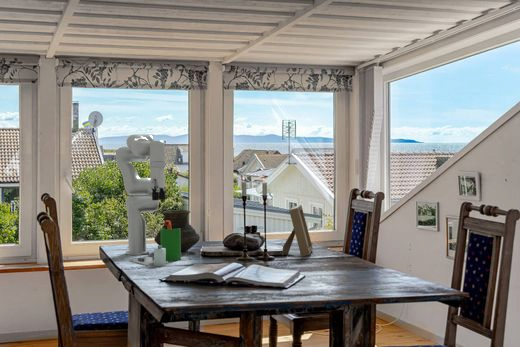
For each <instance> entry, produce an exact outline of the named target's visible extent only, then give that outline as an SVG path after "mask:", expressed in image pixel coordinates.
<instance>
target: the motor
mask: <svg viewBox="0 0 520 347" xmlns="http://www.w3.org/2000/svg"><path fill="white" fill-rule="evenodd" d="M164 224H165V225H167V229H165V228H162V227H161V228H159V231H160V239H161V245H162V248H166V261H168V262H170V261H173V262H174V261H180V260H181V259H182V253H181V229H180V228H179V229H172V227H171V221H165V220H164Z"/></svg>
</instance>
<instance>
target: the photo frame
mask: <svg viewBox="0 0 520 347" xmlns="http://www.w3.org/2000/svg"><path fill="white" fill-rule="evenodd" d="M303 209H304V208H303V206H302V204H300V205H296V206H293V207H291V208H290V209H289V210H288V211H289V215H290V216H289V217H290V219H291V223H292V226H293V229H292V231H291V233H290V234H289V236H288V238H287V239H286V241H285V242H284V244H283V246H282V252H281V255H282V256H284V255H285V256H286V255H289V253H290V250H291V247H292V244H293V241H294V240H295V239H296V242H297V245H298V246H297V247H298V249H299V254H300V256H301V258H302V257H305V256H306V257H307V256H310V254H311V253H312V252H313V244H312V241H311V236H310V233H309V228H308V224H307V221H306V218H305V214H304V213H305V212H304V210H303Z"/></svg>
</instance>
